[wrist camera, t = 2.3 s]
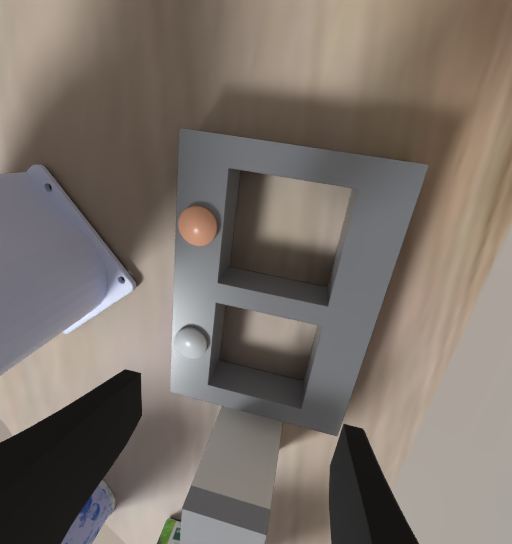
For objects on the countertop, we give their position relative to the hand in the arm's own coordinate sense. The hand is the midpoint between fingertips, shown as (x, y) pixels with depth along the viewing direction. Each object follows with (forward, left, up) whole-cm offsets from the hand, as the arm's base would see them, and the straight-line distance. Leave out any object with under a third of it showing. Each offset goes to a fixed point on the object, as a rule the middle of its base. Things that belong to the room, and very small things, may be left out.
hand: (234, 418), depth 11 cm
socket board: (-1, +1, -9) cm, 9 cm away
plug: (+8, -7, -9) cm, 14 cm away
